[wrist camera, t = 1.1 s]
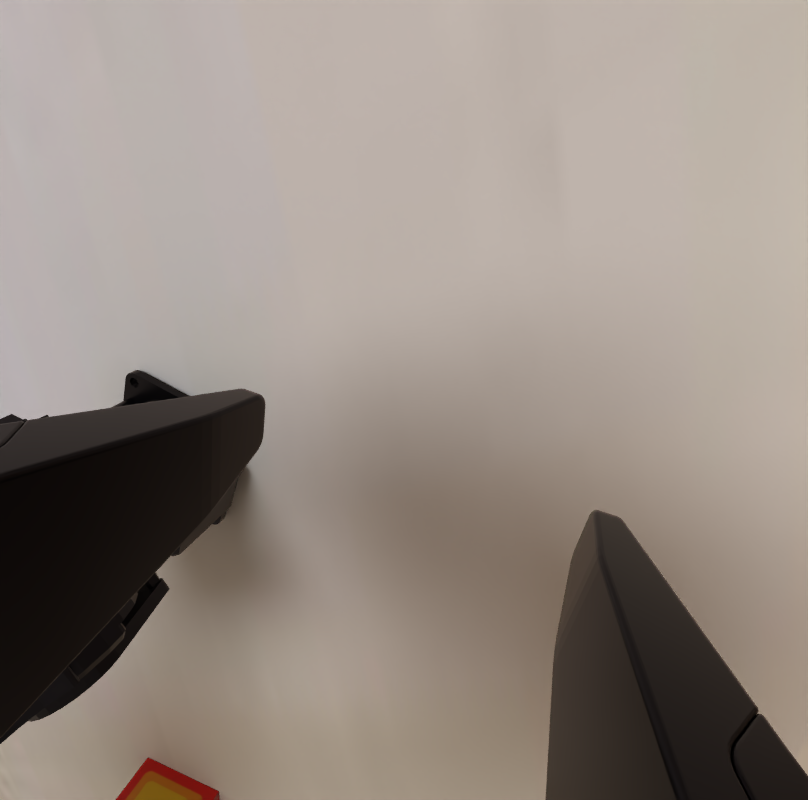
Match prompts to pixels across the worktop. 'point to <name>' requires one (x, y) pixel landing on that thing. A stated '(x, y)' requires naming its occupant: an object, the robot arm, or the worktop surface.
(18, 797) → the worktop surface
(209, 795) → the baking soda box
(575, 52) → the worktop surface
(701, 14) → the worktop surface
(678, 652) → the robot arm
